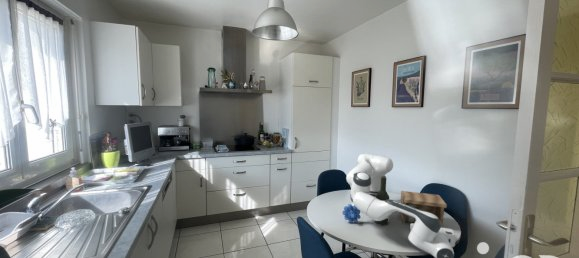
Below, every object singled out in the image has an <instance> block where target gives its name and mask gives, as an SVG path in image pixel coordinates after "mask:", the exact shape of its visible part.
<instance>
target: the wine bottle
mask: <svg viewBox="0 0 579 258" xmlns="http://www.w3.org/2000/svg"><path fill="white" fill-rule="evenodd" d="M376 198H377V199H379V200H382V201H385V200H387V199H390V196H389V194H388V192H387V177H386V175H385V176H382V177H381V186H380V191H379V192H378V194H377V195H376ZM374 223H376V224H377V225H380V226H388V225H389V216H388V217H387V218H386V219H384V220H382V221H375V220H374Z"/></svg>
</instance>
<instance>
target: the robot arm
mask: <svg viewBox="0 0 579 258" xmlns="http://www.w3.org/2000/svg"><path fill="white" fill-rule="evenodd" d="M356 160H357V161H356V163H357V165H356V166H354V167H353V168H352V169H351V170H349V172H348V173H347V175H346V177H345V179H346V183H348V185H349V186H351V189H350V196H349V197H350V200H351V201H350V202H351V203H350V204H351V205H352V207H353V206H355V207H356V208H357V209H359V210H360V213H362V214H364V215H365V216H366V217H368V218H369V219H371V220H372V221H374V222H375V221H382V220H384V219H386V218H387V217H388V218H389V217H390V215H392V214H393V213H395V212H399V213H400V212H402V213H404V214H406V215H409V216H411V217H414V218H415V221H414V223H413V222H411V223H410V227H409V229H410V232H409V234H408V237H407V240H408V242H409V243H410V246H411V247H413V249H415V250H416V251H418V252H420V253H422V254H424V255H431V256H433V258H454V257H455V252H454V249H453V248H454V247H455V245H456V232H455V231H454V230H453V229H452V228H449V227H448V228H447V227H443V228H441V227H442V226H441V222H440V220H439V218H438V217H437V216H435V215H434V214H432V213H429V212H425V211H422V210H419V209H416V208H413V207H411V206H408V205H405V204H403V203H401V201H397V200H394V199H390V198H389V199H387V200H385V201H382V200H379V199H377V198H376V195H377V194H378V192H379V191H380V186H381V177H382V176H386V174H388V173H390V172H391V171H392V170H393V168H394V162H393V160H392V159H391V158H389V157H386V156H383V155H378V154H370V153H360V154H359V155H358V157H357V159H356Z"/></svg>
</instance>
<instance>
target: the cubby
mask: <svg viewBox="0 0 579 258" xmlns="http://www.w3.org/2000/svg"><path fill="white" fill-rule="evenodd" d="M400 203H403V204H405V205H406V203H412V204H416V205H415V208H416V209H419V210H422V211H425V212H429V213H432V214H434V215H435V216H437V217H438V218H439V220H440V222H441V226H442V227H441V228H444V215H445V214H444V213H445V209H447V205H448V204H447V203H446V202H445V200H443V198H442V197H441V196H440V195H439V194H434V193H425V192H415V191H405V190H401V191H400ZM399 217H400V220H401V222H402V223H401V224H404V225H405V224H406V220H405V217H406V214H404V213H402V212H399Z"/></svg>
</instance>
